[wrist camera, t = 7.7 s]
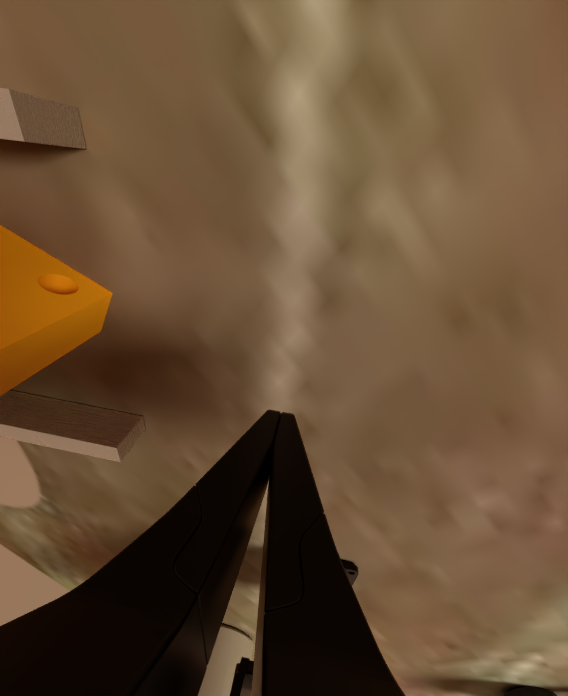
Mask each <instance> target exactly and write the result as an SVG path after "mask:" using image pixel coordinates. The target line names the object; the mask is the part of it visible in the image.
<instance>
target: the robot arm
mask: <svg viewBox="0 0 568 696" xmlns="http://www.w3.org/2000/svg"><path fill="white" fill-rule="evenodd" d="M268 481H269V485H268ZM267 485H268V495H267V508H266V520H265V532H264V545H263V557H262V569H261V582H260V594H259V606H258V619H257V631H256V643H255V655H254V661H250V658H245V657H242V658H241V661H240V663H237V664H236V668H235V673H234V678H233V683H232V688H231V692H230V696H405V694H404V693H403V691H402V690H401V688H400V687H399V685H398V684H397V682H396V680H395V679H394V677H393V675H392V673H391V671H390V670H389V668H388V666H387V664H386V662H385V660H384V658H383V656H382V654H381V652H380V650H379V648H378V646H377V643H376V641H375V639H374V637H373V634H372V632H371V630H370V627H369V625H368V623H367V620H366V618H365V616H364V614H363V611H362V609H361V607H360V604H359V602H358V600H357V597H356V595H355V593H354V590H353V588H352V585H353V583H354V581H355V580H356V578H357V576H358V567H357V566H356V565H353V564H349V563H344V562H341V559H340V557H339V554H338V552H337V549H336V546H335V543H334V540H333V537H332V534H331V532H330V529H329V525H328V522H327V519H326V516H325V514H323V513H324V510H323V506H322V503H321V500H320V497H319V493H318V490H317V487H316V484H315V480H314V477H313V474H312V471H311V467H310V464H309V461H308V458H307V454H306V451H305V448H304V444H303V441H302V438H301V435H300V431H299V428H298V425H297V422H296V418H295V416H294V414H290V413H285V412H282V413H280V412H279V411H274V410H267V411H266V412H265V413H264V414H263V415H262V416H261V417H260V418H259V420H258V421H257V422H256V423H255V424H254V425H253V426H252V427H251V428H250V429H249V430H248V431H247V432H246V433H245V434H244V435H243V436H242V437H241V438H240V439H239V440H238V441H237V442H236V443H235V444H234V445H233V446H232V447H231V448H230V449H229V450H228V451H227V452H226V453H225V454H224V455H223V457H222V458H221V459H220V460H219V461H218V462H217V463H216V464H215V465H214V466H213V467H212V468H211V469H210V470H209V471H208V472H207V473H206V474H205V475H204V476H203V477H202V478H201V479H200V480H199V481H198V482H197V483H196V486H193V487H192V488H191V489H190V490H189V491H188V492H187V493H186V494H185V495H184V496H183V497H182V498H181V499H180V500H179V501H178V502H177V503H176V504H175V505H174V506H173V507H172V508H171V509H170V510H169V511H168V512H167V513H166V514H165V515H164V516H162V517H161V518H160V519H159V520H158V521H157V522H156V523H154V524H153V525H152V526H151V527H150V528H149V529H148V530H146V531H145V532H144V533H143V534H142V535H140V536H139V537H138V538H137V539H136V540H134V541H133V542H132V543H131V544H130V545H128V546H127V547H126V548H125V549H124V550H123V551H121V552H120V553H119V554H118V555H117V556H115V557H114V558H113V559H112V560H111V561H109V562H108V563H107V564H106V565H105V566H103V567H102V568H101V569H100V570H99V571H97V572H96V573H95V574H94V575H93V576H91V577H90V578H89V579H87V580H86V581H85V582H83V583H82V584H81V585H79V586H78V587H76V588H74V589H73V590H71V591H70V592H68V593H66V594H65V595H63V596H61V597H60V598H58V599H56V600H54V601H52V602H50V603H48V604H45V605H43V606H41V607H39V608H37V609H36V610H33V611H31V612H29V613H27V614H25V615H23V616H21V617H18V618H16V619H14V620H12V621H10V622H8V623H6V624H4V625H2V626H0V696H198V694H199V691H200V688H201V685H202V682H203V679H204V676H205V673H206V669H207V665H208V663H209V660H210V657H211V654H212V651H213V648H214V645H215V642H216V639H217V636H218V633H219V630H220V627H221V624H222V621H223V618H224V615H225V612H226V609H227V606H228V603H229V600H230V597H231V594H232V591H233V588H234V585H235V582H236V579H237V576H238V573H239V570H240V567H241V564H242V561H243V558H244V555H245V552H246V549H247V546H248V543H249V539H250V536H251V533H252V530H253V527H254V524H255V521H256V518H257V515H258V512H259V509H260V506H261V503H262V500H263V497H264V494H265V491H266V488H267Z"/></svg>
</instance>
